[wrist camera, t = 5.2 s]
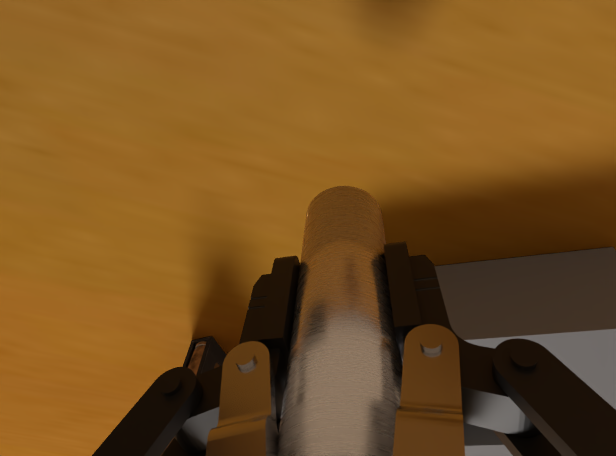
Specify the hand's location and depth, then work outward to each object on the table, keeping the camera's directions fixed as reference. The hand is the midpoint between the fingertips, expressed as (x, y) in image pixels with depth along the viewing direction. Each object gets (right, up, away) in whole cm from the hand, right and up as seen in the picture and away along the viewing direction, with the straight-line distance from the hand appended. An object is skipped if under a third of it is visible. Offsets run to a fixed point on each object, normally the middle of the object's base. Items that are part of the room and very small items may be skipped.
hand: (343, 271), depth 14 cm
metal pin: (0, +2, +3) cm, 3 cm away
